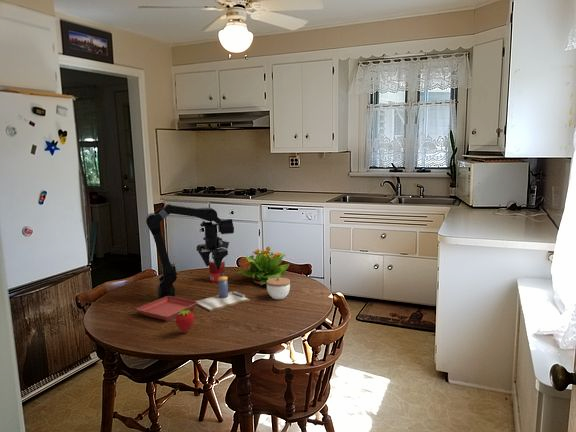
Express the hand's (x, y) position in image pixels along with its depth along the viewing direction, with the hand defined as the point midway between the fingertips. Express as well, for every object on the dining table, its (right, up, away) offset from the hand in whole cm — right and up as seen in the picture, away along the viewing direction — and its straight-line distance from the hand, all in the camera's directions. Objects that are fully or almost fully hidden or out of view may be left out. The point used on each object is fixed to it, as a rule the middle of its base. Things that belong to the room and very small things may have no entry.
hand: (212, 268), depth 206 cm
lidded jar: (+31, -13, -6) cm, 34 cm away
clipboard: (+6, -14, -11) cm, 18 cm away
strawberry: (-2, -19, -44) cm, 48 cm away
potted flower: (+22, -9, +19) cm, 31 cm away
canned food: (-1, -9, +22) cm, 23 cm away
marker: (+6, -12, -6) cm, 15 cm away
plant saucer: (-15, -16, -21) cm, 31 cm away
